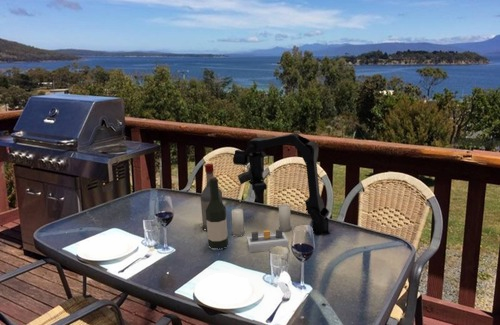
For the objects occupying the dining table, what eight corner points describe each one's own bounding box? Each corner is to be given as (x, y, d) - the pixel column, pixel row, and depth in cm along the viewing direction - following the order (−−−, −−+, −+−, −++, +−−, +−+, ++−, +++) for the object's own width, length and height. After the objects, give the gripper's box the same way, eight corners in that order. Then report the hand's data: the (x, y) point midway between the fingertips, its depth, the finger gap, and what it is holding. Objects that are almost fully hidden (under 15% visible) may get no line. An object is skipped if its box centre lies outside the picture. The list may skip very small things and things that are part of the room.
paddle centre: (269, 236, 175) (269, 230, 174) (270, 238, 173) (270, 231, 173) (263, 237, 174) (263, 230, 174) (264, 239, 173) (264, 232, 172)
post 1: (244, 230, 190) (243, 207, 187) (245, 236, 184) (244, 212, 182) (231, 232, 189) (230, 209, 187) (232, 237, 184) (231, 213, 181)
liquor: (222, 231, 191) (218, 167, 183) (202, 231, 191) (197, 168, 183) (224, 223, 200) (220, 161, 192) (205, 223, 200) (200, 162, 192)
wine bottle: (204, 248, 175) (198, 179, 167) (215, 240, 182) (210, 173, 174) (221, 252, 171) (216, 181, 163) (232, 243, 178) (227, 175, 170)
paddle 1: (257, 238, 174) (257, 231, 173) (258, 239, 173) (258, 232, 172) (251, 238, 174) (251, 232, 173) (252, 240, 172) (251, 233, 172)
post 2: (290, 226, 192) (289, 203, 190) (292, 231, 187) (292, 208, 184) (277, 227, 192) (276, 204, 189) (280, 232, 186) (279, 209, 183)
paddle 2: (281, 235, 175) (281, 229, 174) (282, 237, 174) (282, 230, 173) (275, 236, 175) (275, 229, 174) (276, 237, 174) (276, 231, 173)
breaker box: (284, 238, 180) (283, 231, 179) (288, 248, 171) (288, 240, 170) (246, 242, 178) (246, 235, 177) (249, 252, 169) (249, 244, 169)
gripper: (236, 162, 199) (238, 193, 203) (240, 173, 181) (242, 207, 185) (259, 160, 200) (260, 191, 204) (266, 171, 182) (267, 205, 186)
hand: (257, 198), depth 195 cm, fingers open, 6 cm apart
